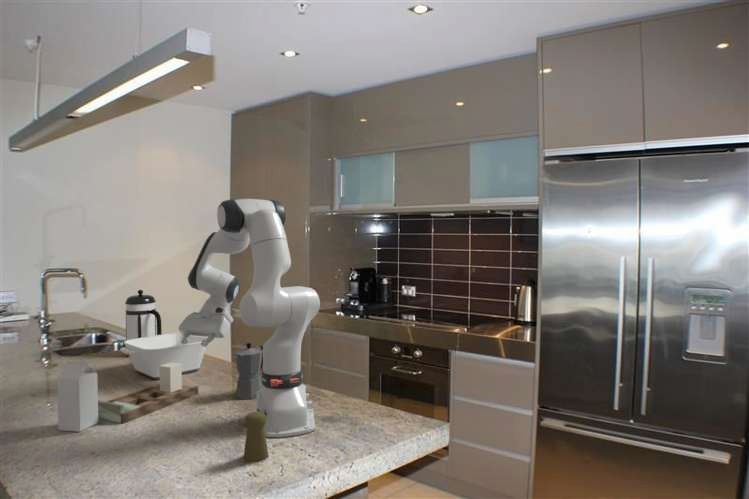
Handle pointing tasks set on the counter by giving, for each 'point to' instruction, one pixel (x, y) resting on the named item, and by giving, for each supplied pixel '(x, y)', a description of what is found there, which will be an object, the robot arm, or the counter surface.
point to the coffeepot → (249, 371)
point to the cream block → (170, 377)
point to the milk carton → (77, 397)
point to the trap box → (141, 403)
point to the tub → (164, 353)
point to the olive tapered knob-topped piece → (255, 437)
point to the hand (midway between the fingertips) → (193, 344)
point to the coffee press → (141, 317)
